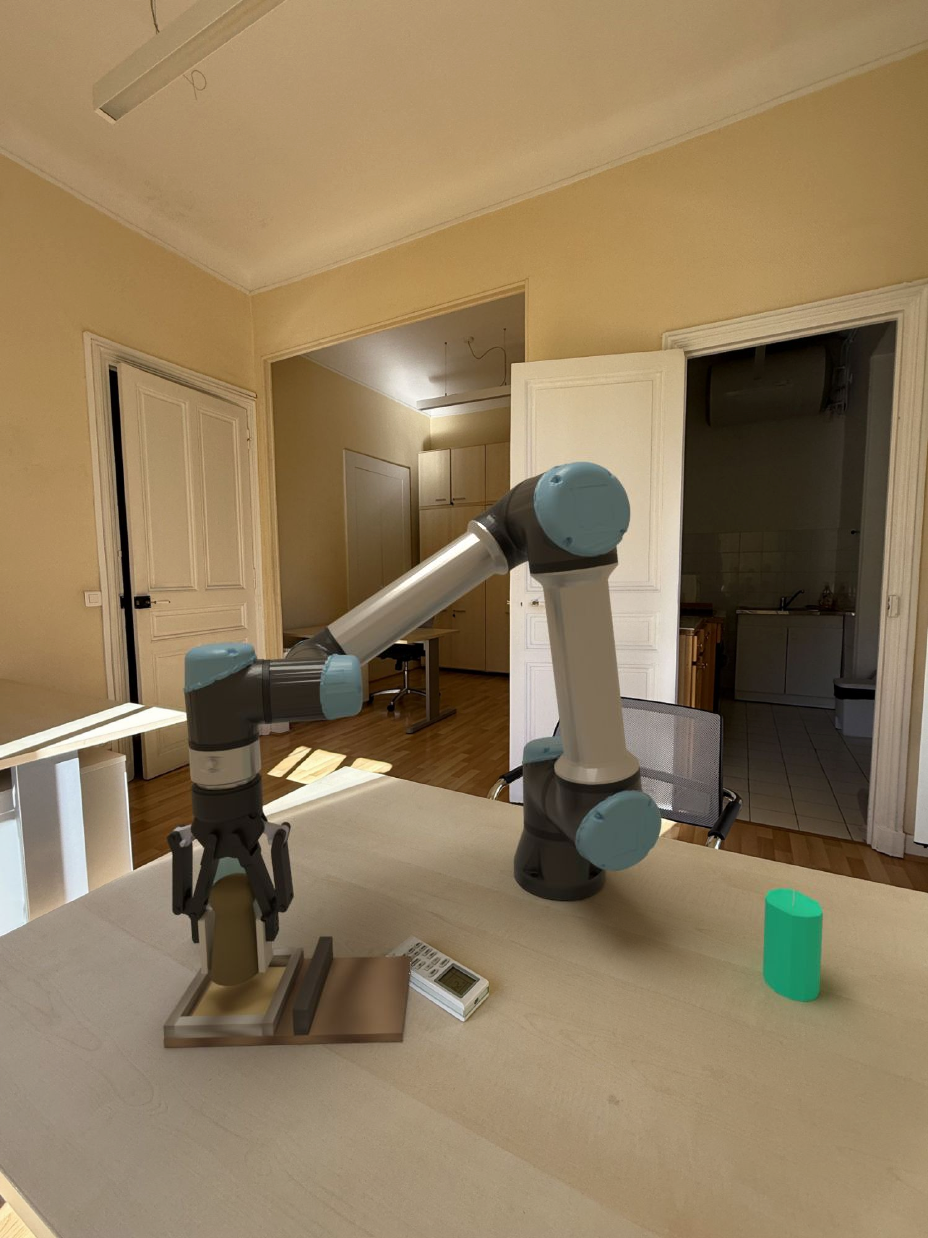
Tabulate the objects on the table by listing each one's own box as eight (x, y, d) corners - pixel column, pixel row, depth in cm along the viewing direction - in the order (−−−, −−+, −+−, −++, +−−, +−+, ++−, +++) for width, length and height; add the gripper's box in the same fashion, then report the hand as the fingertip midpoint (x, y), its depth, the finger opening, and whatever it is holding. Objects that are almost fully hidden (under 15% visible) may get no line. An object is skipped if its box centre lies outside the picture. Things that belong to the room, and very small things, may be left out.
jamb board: (411, 963, 72) (410, 934, 72) (401, 1041, 60) (400, 1007, 60) (213, 968, 72) (211, 939, 72) (164, 1047, 60) (161, 1013, 60)
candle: (800, 1009, 64) (803, 911, 62) (752, 975, 69) (754, 884, 68) (830, 990, 66) (834, 895, 65) (781, 959, 72) (785, 871, 71)
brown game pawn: (275, 956, 67) (271, 871, 66) (238, 992, 62) (232, 899, 61) (237, 945, 70) (232, 862, 69) (198, 978, 64) (192, 888, 63)
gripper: (124, 792, 60) (139, 991, 62) (299, 788, 60) (308, 987, 62) (161, 767, 67) (174, 945, 69) (317, 764, 67) (325, 942, 70)
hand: (237, 964), depth 66 cm, fingers closed on brown game pawn, 6 cm apart
